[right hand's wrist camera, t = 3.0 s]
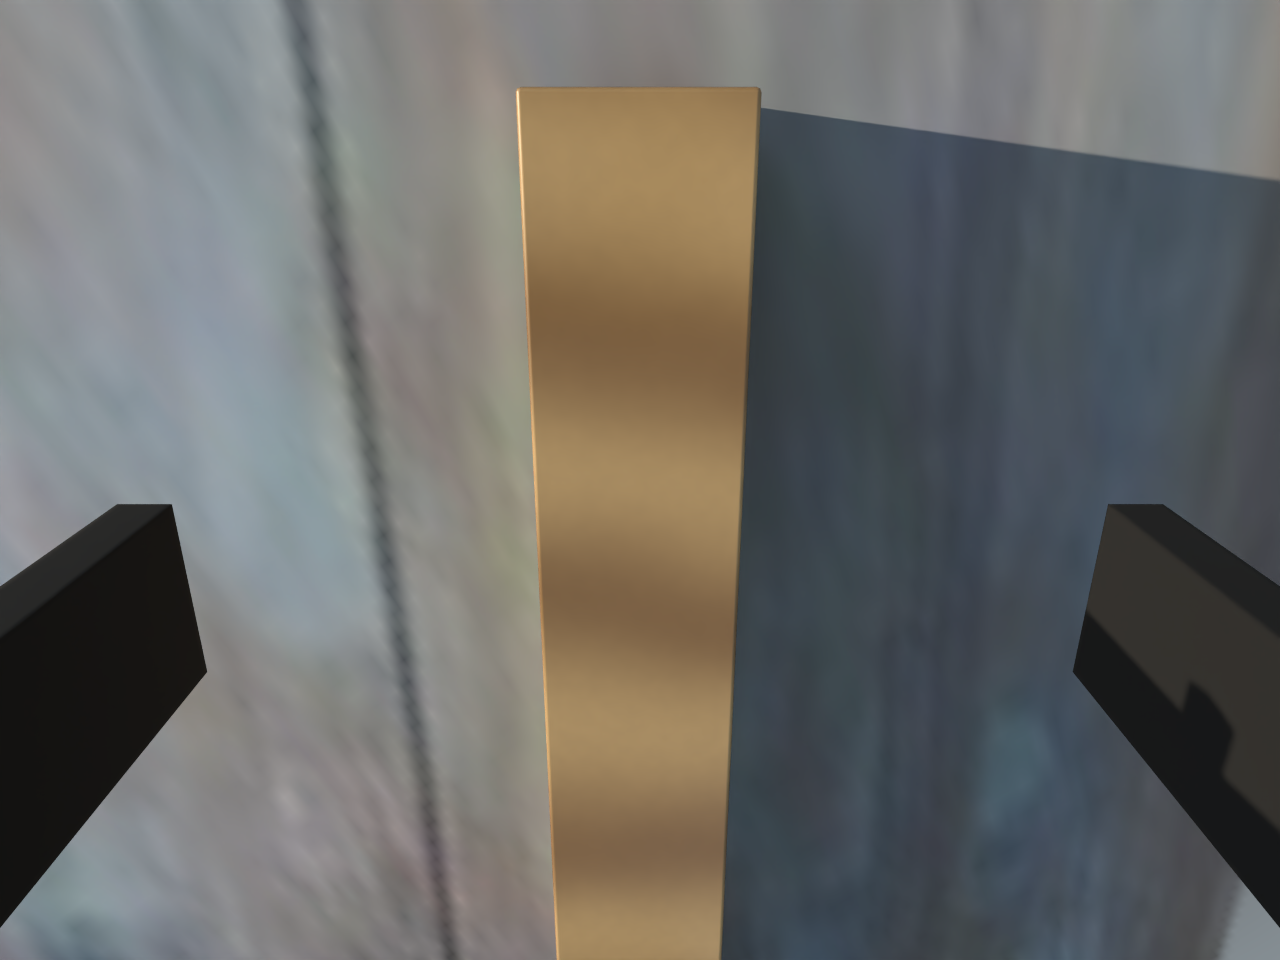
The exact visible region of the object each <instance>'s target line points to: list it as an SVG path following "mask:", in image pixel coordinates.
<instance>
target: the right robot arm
mask: <svg viewBox="0 0 1280 960" xmlns="http://www.w3.org/2000/svg"><path fill="white" fill-rule="evenodd" d="M206 673H207V669H206V664H205V659H204V655H203V650H202V645H201V640H200V636H199V631H198V626H197V621H196V617H195V612H194V607H193V603H192V598H191V593H190V588H189V584H188V579H187V574H186V569H185V565H184V560H183V555H182V551H181V546H180V541H179V536H178V532H177V527H176V522H175V517H174V513H173V508H172V504H117V505H115V506H114V507H113V508H111V509H110V510H108V511H107V512H105V513H104V514H103V515H101V516H100V517H98V518H97V519H96V520H94V521H93V522H91V523H90V524H88V525H87V526H86V527H84V528H83V529H81V530H80V531H78V532H77V533H76V534H74V535H73V536H71V537H70V538H69V539H67V540H66V541H64V542H63V543H61V544H60V545H59V546H57V547H56V548H54V549H53V550H51V551H50V552H49V553H47V554H46V555H44V556H43V557H42V558H40V559H39V560H37V561H36V562H34V563H33V564H32V565H30V566H29V567H27V568H26V569H24V570H23V571H22V572H20V573H19V574H17V575H16V576H14V577H13V578H12V579H10V580H9V581H7V582H6V583H5V584H3V585H2V586H0V927H1V926H2V925H3V924H4V922H5V921H6V920H7V919H8V917H9V916H10V915H11V914H12V913H13V911H14V910H15V909H16V908H17V906H18V905H19V904H20V903H21V901H22V900H23V899H24V898H25V896H26V895H27V894H28V893H29V892H30V890H31V889H32V888H33V887H34V885H35V884H36V883H37V882H38V880H39V879H40V878H41V877H42V875H43V874H44V873H45V872H46V870H47V869H48V868H49V867H50V866H51V864H52V863H53V862H54V861H55V859H56V858H57V857H58V856H59V854H60V853H61V852H62V851H63V849H64V848H65V847H66V846H67V845H68V843H69V842H70V841H71V840H72V838H73V837H74V836H75V835H76V833H77V832H78V831H79V830H80V828H81V827H82V826H83V825H84V823H85V822H86V821H87V820H88V819H89V817H90V816H91V815H92V814H93V812H94V811H95V810H96V809H97V807H98V806H99V805H100V804H101V802H102V801H103V800H104V799H105V798H106V796H107V795H108V794H109V793H110V791H111V790H112V789H113V788H114V786H115V785H116V784H117V783H118V781H119V780H120V779H121V778H122V776H123V775H124V774H125V773H126V772H127V770H128V769H129V768H130V767H131V765H132V764H133V763H134V762H135V760H136V759H137V758H138V757H139V755H140V754H141V753H142V752H143V751H144V749H145V748H146V747H147V746H148V744H149V743H150V742H151V741H152V739H153V738H154V737H155V736H156V734H157V733H158V732H159V731H160V730H161V728H162V727H163V726H164V725H165V723H166V722H167V721H168V720H169V718H170V717H171V716H172V715H173V713H174V712H175V711H176V710H177V708H178V707H179V706H180V705H181V704H182V702H183V701H184V700H185V699H186V697H187V696H188V695H189V694H190V692H191V691H192V690H193V689H194V687H195V686H196V685H197V684H198V683H199V681H200V680H201V679H202V678H203V676H204V675H205V674H206ZM1073 673H1074V674H1075V675H1076V676H1077V678H1078V679H1079V680H1080V681H1081V683H1082V684H1083V685H1084V686H1085V687H1086V689H1087V690H1088V691H1089V692H1090V694H1091V695H1092V696H1093V697H1094V699H1095V700H1096V701H1097V702H1098V704H1099V705H1100V706H1101V707H1102V708H1103V710H1104V711H1105V712H1106V713H1107V715H1108V716H1109V717H1110V718H1111V720H1112V721H1113V722H1114V723H1115V725H1116V726H1117V727H1118V728H1119V730H1120V731H1121V732H1122V733H1123V734H1124V736H1125V737H1126V738H1127V739H1128V741H1129V742H1130V743H1131V744H1132V746H1133V747H1134V748H1135V749H1136V751H1137V752H1138V753H1139V754H1140V755H1141V757H1142V758H1143V759H1144V760H1145V762H1146V763H1147V764H1148V765H1149V767H1150V768H1151V769H1152V770H1153V772H1154V773H1155V774H1156V775H1157V777H1158V778H1159V779H1160V780H1161V781H1162V783H1163V784H1164V785H1165V786H1166V788H1167V789H1168V790H1169V791H1170V793H1171V794H1172V795H1173V796H1174V798H1175V799H1176V800H1177V801H1178V802H1179V804H1180V805H1181V806H1182V807H1183V809H1184V810H1185V811H1186V812H1187V814H1188V815H1189V816H1190V817H1191V819H1192V820H1193V821H1194V822H1195V823H1196V825H1197V826H1198V827H1199V828H1200V830H1201V831H1202V832H1203V833H1204V835H1205V836H1206V837H1207V838H1208V840H1209V841H1210V842H1211V843H1212V845H1213V846H1214V847H1215V848H1216V849H1217V851H1218V852H1219V853H1220V854H1221V856H1222V857H1223V858H1224V859H1225V861H1226V862H1227V863H1228V864H1229V866H1230V867H1231V868H1232V869H1233V870H1234V872H1235V873H1236V874H1237V875H1238V877H1239V878H1240V879H1241V880H1242V882H1243V883H1244V884H1245V885H1246V887H1247V888H1248V889H1249V890H1250V892H1251V893H1252V894H1253V895H1254V896H1255V898H1256V899H1257V900H1258V901H1259V903H1260V904H1261V905H1262V906H1263V908H1264V909H1265V910H1266V911H1267V912H1268V914H1269V915H1270V916H1271V917H1272V919H1273V920H1274V921H1275V922H1276V924H1277V925H1278V926H1279V927H1280V586H1278V585H1277V584H1275V583H1274V582H1273V581H1271V580H1270V579H1268V578H1267V577H1266V576H1264V575H1263V574H1261V573H1260V572H1258V571H1257V570H1256V569H1254V568H1253V567H1251V566H1250V565H1248V564H1247V563H1246V562H1244V561H1243V560H1241V559H1240V558H1238V557H1237V556H1236V555H1234V554H1233V553H1231V552H1230V551H1229V550H1227V549H1226V548H1224V547H1223V546H1221V545H1220V544H1219V543H1217V542H1216V541H1214V540H1213V539H1211V538H1210V537H1209V536H1207V535H1206V534H1204V533H1203V532H1202V531H1200V530H1199V529H1197V528H1196V527H1194V526H1193V525H1192V524H1190V523H1189V522H1187V521H1186V520H1184V519H1183V518H1182V517H1180V516H1179V515H1177V514H1176V513H1175V512H1173V511H1172V510H1170V509H1169V508H1167V507H1166V506H1165V505H1163V504H1108V508H1107V513H1106V517H1105V522H1104V527H1103V532H1102V536H1101V541H1100V546H1099V551H1098V555H1097V560H1096V565H1095V569H1094V574H1093V579H1092V584H1091V588H1090V593H1089V598H1088V603H1087V607H1086V612H1085V617H1084V621H1083V626H1082V631H1081V636H1080V640H1079V645H1078V650H1077V655H1076V659H1075V664H1074V669H1073Z"/></svg>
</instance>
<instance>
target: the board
mask: <svg viewBox="0 0 1280 960" xmlns="http://www.w3.org/2000/svg"><path fill="white" fill-rule="evenodd" d="M516 107H517V128H518V150H519V171H520V192H521V213H522V234H523V255H524V276H525V298H526V319H527V340H528V361H529V382H530V403H531V425H532V446H533V467H534V488H535V509H536V530H537V551H538V573H539V594H540V615H541V636H542V657H543V678H544V699H545V721H546V742H547V763H548V784H549V805H550V826H551V847H552V869H553V890H554V911H555V932H556V953H557V960H721V957H722V935H723V913H724V892H725V870H726V849H727V827H728V805H729V784H730V762H731V740H732V719H733V697H734V675H735V654H736V632H737V611H738V589H739V567H740V546H741V524H742V502H743V481H744V459H745V438H746V416H747V394H748V373H749V351H750V329H751V308H752V286H753V264H754V243H755V221H756V200H757V178H758V156H759V135H760V113H761V90H760V88H758V87H520V88H517V90H516Z"/></svg>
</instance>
